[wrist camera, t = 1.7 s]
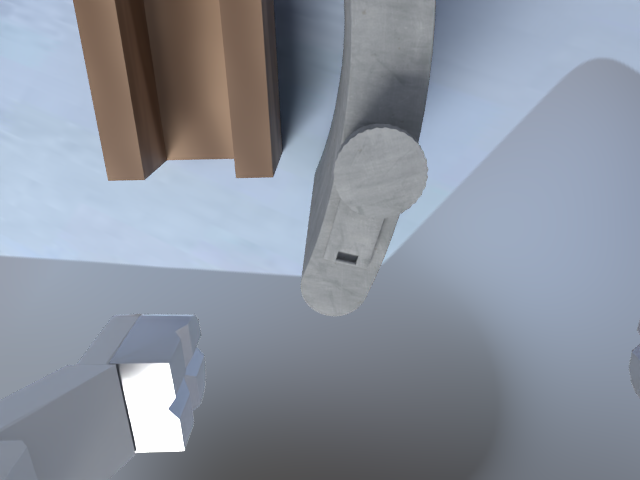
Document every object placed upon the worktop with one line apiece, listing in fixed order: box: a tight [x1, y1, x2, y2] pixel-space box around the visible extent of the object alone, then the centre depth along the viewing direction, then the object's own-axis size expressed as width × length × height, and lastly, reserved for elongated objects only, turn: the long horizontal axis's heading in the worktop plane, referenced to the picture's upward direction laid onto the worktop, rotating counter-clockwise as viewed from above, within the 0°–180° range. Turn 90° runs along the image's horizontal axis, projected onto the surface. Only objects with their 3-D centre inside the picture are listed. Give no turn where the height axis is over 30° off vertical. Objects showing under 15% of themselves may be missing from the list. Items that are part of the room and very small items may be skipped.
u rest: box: [73, 0, 282, 181], centre depth 34 cm, size 11×18×6 cm, turn 2°
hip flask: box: [301, 0, 436, 316], centre depth 29 cm, size 16×4×20 cm, turn 171°
